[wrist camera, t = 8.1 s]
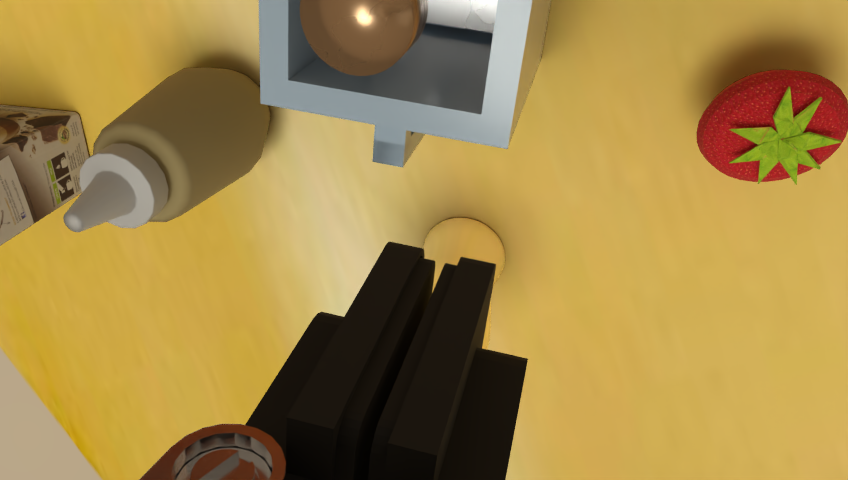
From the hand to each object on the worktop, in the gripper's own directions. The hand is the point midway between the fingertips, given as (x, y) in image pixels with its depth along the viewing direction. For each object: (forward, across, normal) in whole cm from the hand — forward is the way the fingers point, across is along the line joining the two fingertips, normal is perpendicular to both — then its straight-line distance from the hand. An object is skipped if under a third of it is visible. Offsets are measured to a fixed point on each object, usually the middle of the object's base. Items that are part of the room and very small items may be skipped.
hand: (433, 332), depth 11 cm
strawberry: (+37, -12, +6) cm, 40 cm away
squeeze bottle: (+37, +22, +13) cm, 45 cm away
